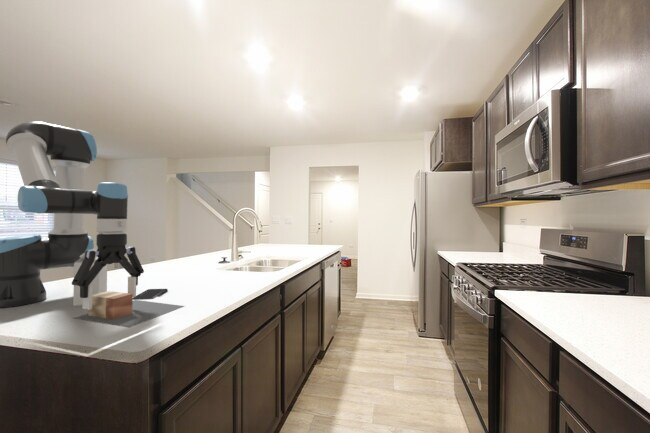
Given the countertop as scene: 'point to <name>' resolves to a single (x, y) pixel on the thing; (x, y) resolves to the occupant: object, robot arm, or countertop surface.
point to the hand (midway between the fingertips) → (111, 302)
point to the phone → (150, 294)
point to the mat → (135, 314)
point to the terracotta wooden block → (111, 304)
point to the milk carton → (97, 284)
